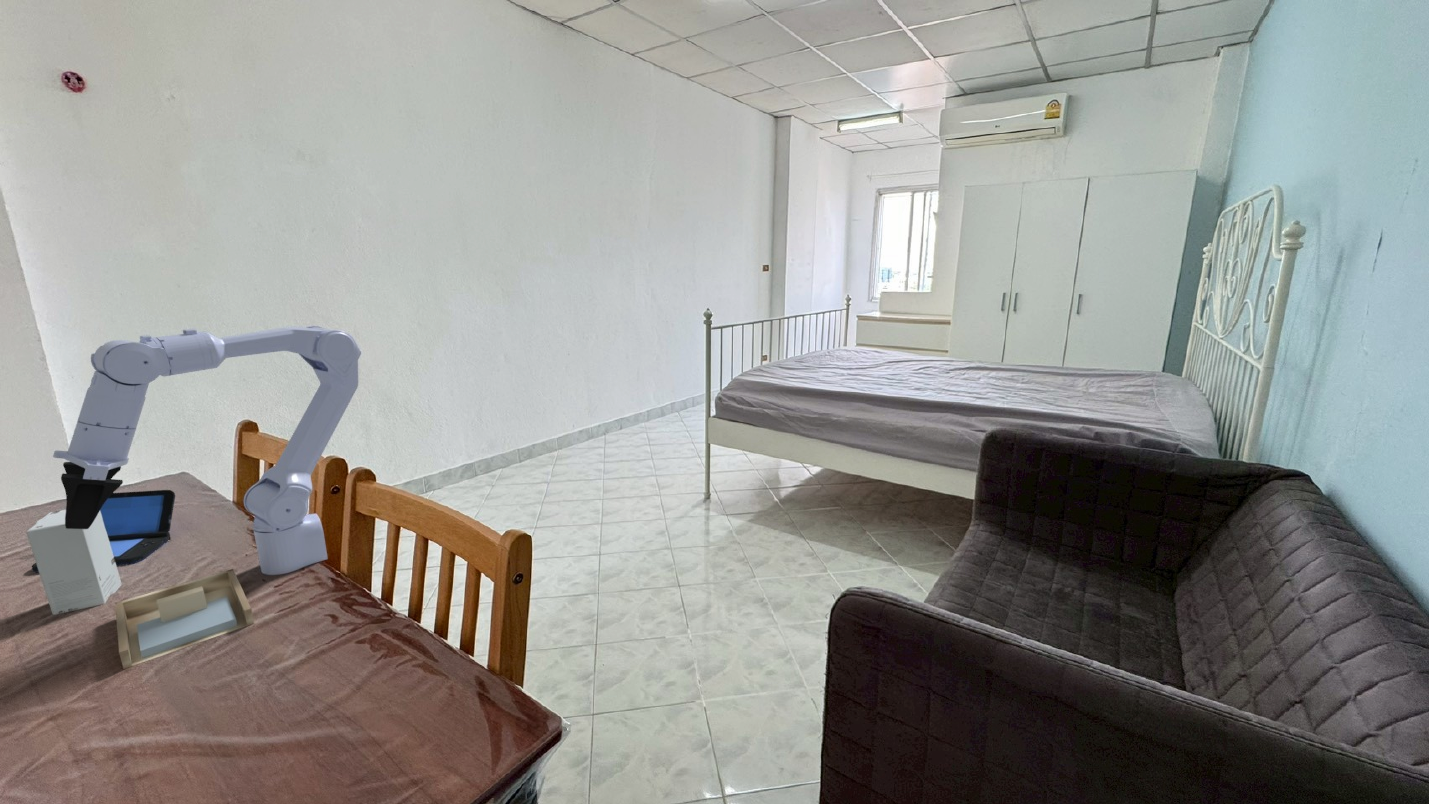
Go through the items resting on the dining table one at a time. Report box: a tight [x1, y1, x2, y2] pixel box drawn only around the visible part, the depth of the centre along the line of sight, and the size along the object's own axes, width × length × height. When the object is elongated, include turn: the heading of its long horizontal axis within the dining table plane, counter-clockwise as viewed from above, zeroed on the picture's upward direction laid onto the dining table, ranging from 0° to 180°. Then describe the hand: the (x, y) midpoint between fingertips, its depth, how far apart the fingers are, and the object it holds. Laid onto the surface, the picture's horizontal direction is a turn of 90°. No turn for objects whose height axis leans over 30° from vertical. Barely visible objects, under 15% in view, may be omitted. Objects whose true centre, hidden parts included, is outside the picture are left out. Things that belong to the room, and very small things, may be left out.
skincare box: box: [25, 509, 122, 616], centre depth 88 cm, size 8×6×15 cm
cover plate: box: [137, 586, 237, 659], centre depth 82 cm, size 10×8×4 cm
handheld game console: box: [31, 489, 176, 573], centre depth 104 cm, size 16×13×9 cm
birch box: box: [114, 568, 255, 670], centre depth 84 cm, size 14×16×4 cm
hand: (77, 520), depth 78 cm, fingers open, 7 cm apart
